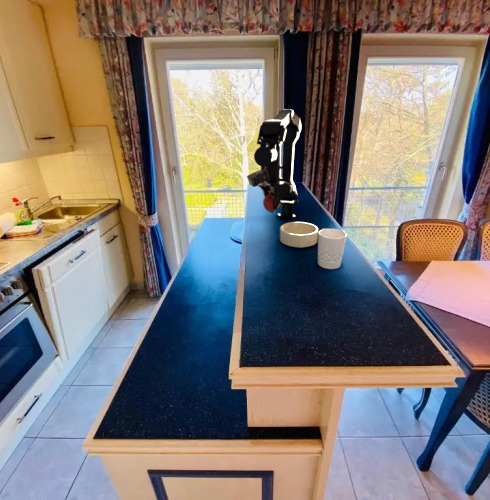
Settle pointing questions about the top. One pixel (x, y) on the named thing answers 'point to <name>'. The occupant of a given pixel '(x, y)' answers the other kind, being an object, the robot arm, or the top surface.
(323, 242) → the white cup
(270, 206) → the onion
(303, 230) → the bowl
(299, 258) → the top surface
